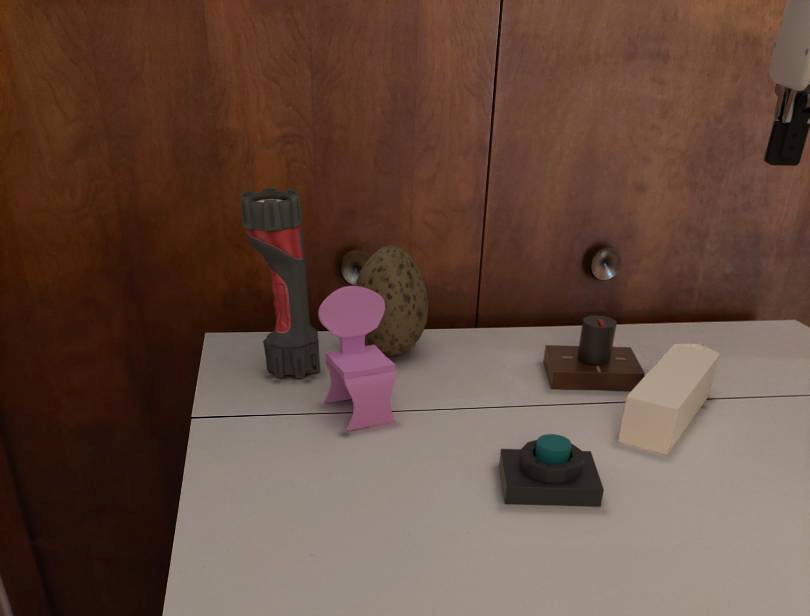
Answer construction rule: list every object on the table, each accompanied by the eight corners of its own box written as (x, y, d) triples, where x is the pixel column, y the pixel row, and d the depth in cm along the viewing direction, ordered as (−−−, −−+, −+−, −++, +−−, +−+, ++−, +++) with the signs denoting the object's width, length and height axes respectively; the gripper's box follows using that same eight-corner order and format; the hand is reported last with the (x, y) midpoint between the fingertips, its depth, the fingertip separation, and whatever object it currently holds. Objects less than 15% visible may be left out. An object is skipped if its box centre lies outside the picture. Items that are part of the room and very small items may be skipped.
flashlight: (245, 369, 110) (226, 191, 96) (291, 355, 114) (279, 182, 101) (278, 388, 105) (263, 203, 92) (325, 372, 109) (317, 193, 96)
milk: (666, 456, 92) (716, 388, 108) (678, 408, 89) (727, 345, 104) (616, 441, 95) (671, 377, 110) (625, 394, 91) (681, 335, 107)
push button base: (587, 468, 90) (593, 436, 88) (600, 507, 83) (606, 474, 81) (498, 465, 90) (502, 434, 88) (504, 504, 83) (508, 471, 81)
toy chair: (340, 434, 95) (336, 311, 86) (316, 403, 102) (310, 286, 93) (404, 422, 98) (406, 301, 89) (376, 393, 104) (376, 278, 96)
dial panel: (627, 363, 114) (631, 345, 112) (641, 391, 106) (645, 372, 105) (543, 361, 114) (545, 343, 112) (551, 388, 106) (553, 370, 105)
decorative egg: (441, 353, 115) (447, 247, 107) (389, 375, 109) (390, 263, 100) (388, 333, 121) (389, 230, 113) (336, 352, 115) (332, 245, 106)
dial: (574, 351, 110) (580, 312, 107) (606, 352, 110) (613, 313, 107) (580, 364, 107) (586, 324, 104) (613, 365, 107) (620, 325, 104)
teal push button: (566, 448, 86) (568, 434, 85) (571, 465, 83) (573, 451, 82) (533, 447, 86) (535, 433, 85) (536, 464, 83) (538, 450, 82)
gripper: (919, -52, 68) (846, 180, 79) (845, -49, 80) (790, 151, 91) (831, -54, 68) (769, 178, 79) (770, -51, 80) (724, 149, 91)
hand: (780, 163), depth 85 cm, fingers closed
